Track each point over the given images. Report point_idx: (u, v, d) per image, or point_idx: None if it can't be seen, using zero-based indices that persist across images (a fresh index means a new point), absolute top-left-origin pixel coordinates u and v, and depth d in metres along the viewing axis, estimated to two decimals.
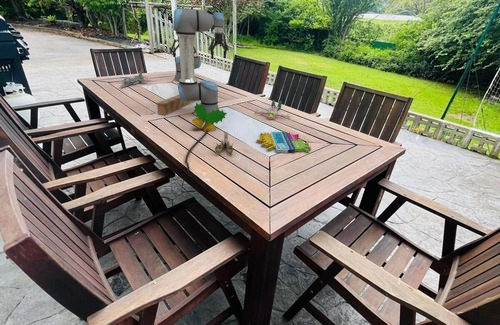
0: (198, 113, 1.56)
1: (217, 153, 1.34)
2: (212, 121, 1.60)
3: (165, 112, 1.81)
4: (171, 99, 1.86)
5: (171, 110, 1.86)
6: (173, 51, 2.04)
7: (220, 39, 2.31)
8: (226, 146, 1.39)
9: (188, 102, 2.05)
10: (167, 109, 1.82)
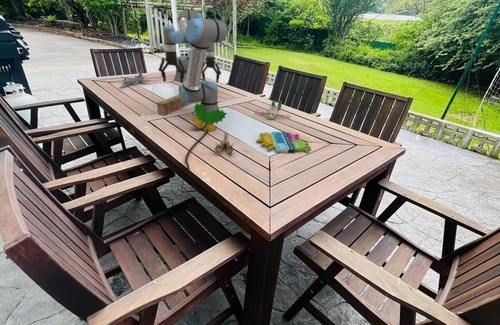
0: (198, 113, 1.56)
1: (217, 153, 1.34)
2: (212, 121, 1.60)
3: (165, 112, 1.81)
4: (171, 99, 1.86)
5: (171, 110, 1.86)
6: (161, 70, 1.89)
7: None
8: (226, 146, 1.39)
9: None
10: (167, 109, 1.82)
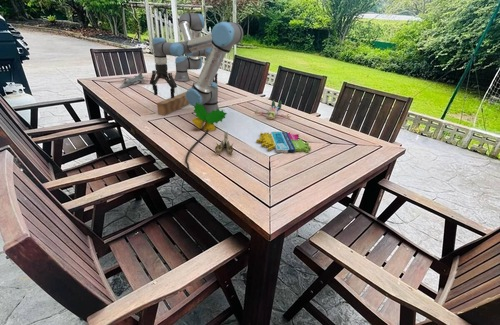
0: (198, 113, 1.56)
1: (217, 153, 1.34)
2: (212, 121, 1.60)
3: (165, 112, 1.81)
4: (171, 99, 1.86)
5: (171, 110, 1.86)
6: (152, 83, 1.77)
7: None
8: (226, 146, 1.39)
9: None
10: (167, 109, 1.82)
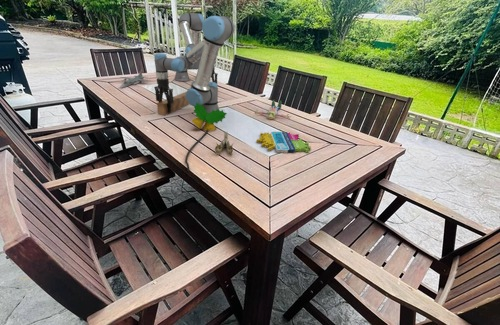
0: (198, 113, 1.56)
1: (217, 153, 1.34)
2: (212, 121, 1.60)
3: (165, 112, 1.81)
4: None
5: (171, 110, 1.86)
6: (158, 100, 1.81)
7: None
8: (226, 146, 1.39)
9: None
10: (167, 109, 1.82)
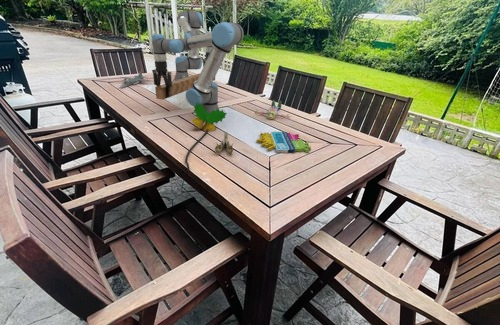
0: (198, 113, 1.56)
1: (217, 153, 1.34)
2: (212, 121, 1.60)
3: (163, 96, 1.75)
4: None
5: (170, 95, 1.81)
6: (156, 84, 1.76)
7: None
8: (226, 146, 1.39)
9: (187, 88, 2.00)
10: (165, 94, 1.77)
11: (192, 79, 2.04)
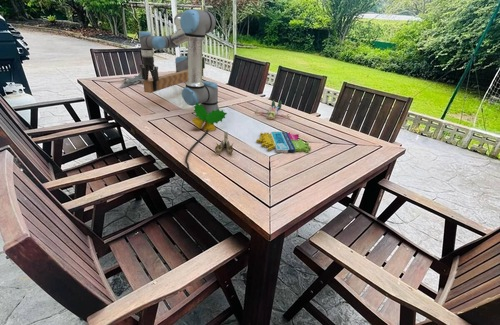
0: (198, 113, 1.56)
1: (217, 153, 1.34)
2: (212, 121, 1.60)
3: (151, 90, 1.88)
4: None
5: (157, 89, 1.94)
6: (144, 78, 1.89)
7: None
8: (226, 146, 1.39)
9: (175, 83, 2.12)
10: None
11: (179, 74, 2.16)
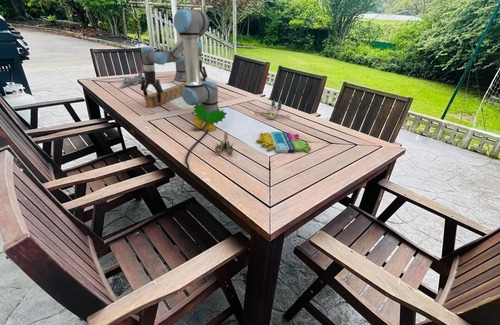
0: (198, 113, 1.56)
1: (217, 153, 1.34)
2: (212, 121, 1.60)
3: (153, 104, 1.93)
4: None
5: (158, 103, 1.99)
6: (143, 89, 1.93)
7: None
8: (226, 146, 1.39)
9: (176, 96, 2.17)
10: (154, 102, 1.94)
11: (180, 87, 2.21)
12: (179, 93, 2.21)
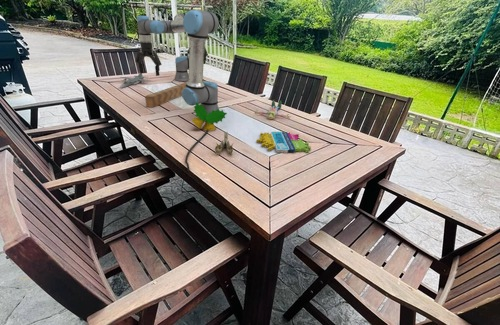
0: (198, 113, 1.56)
1: (217, 153, 1.34)
2: (212, 121, 1.60)
3: (153, 104, 1.93)
4: (159, 93, 1.99)
5: (158, 103, 1.99)
6: (138, 61, 1.84)
7: None
8: (226, 146, 1.39)
9: (176, 96, 2.17)
10: (154, 102, 1.94)
11: (180, 87, 2.21)
12: (179, 93, 2.21)
